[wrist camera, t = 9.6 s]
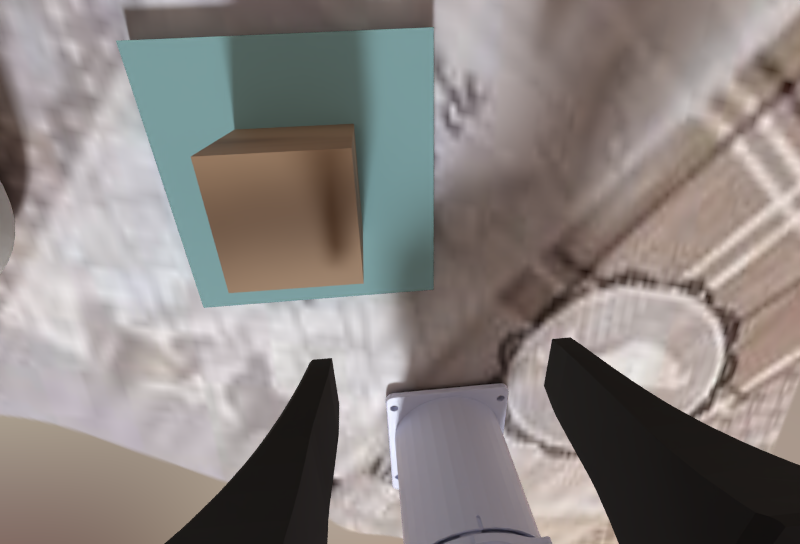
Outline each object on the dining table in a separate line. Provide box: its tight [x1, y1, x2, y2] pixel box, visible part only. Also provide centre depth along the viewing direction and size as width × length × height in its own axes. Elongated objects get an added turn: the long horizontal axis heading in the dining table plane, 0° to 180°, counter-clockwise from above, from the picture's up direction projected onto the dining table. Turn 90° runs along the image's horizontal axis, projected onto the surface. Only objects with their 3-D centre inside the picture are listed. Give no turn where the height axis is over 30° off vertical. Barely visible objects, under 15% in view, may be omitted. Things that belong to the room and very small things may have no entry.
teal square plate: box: [116, 27, 434, 308], centre depth 19 cm, size 12×12×1 cm
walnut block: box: [191, 124, 364, 293], centre depth 16 cm, size 5×5×5 cm
